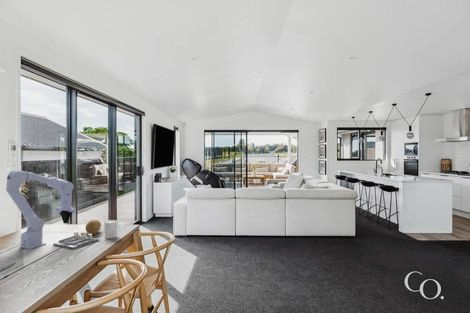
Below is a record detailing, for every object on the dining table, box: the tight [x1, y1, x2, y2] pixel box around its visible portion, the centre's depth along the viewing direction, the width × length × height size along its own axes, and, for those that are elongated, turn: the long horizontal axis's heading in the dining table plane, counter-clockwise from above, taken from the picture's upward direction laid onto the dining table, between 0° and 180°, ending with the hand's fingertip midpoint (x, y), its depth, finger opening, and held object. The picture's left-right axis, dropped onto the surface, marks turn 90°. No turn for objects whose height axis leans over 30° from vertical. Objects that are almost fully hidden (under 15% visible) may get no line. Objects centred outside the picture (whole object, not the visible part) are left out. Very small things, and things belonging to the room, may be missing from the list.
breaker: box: [79, 231, 87, 239], centre depth 165 cm, size 3×2×4 cm
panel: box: [53, 231, 100, 250], centre depth 162 cm, size 17×16×5 cm
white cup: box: [104, 219, 119, 239], centre depth 174 cm, size 8×8×10 cm
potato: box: [85, 219, 102, 236], centre depth 181 cm, size 9×16×9 cm, turn 17°
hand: (65, 223), depth 168 cm, fingers closed
